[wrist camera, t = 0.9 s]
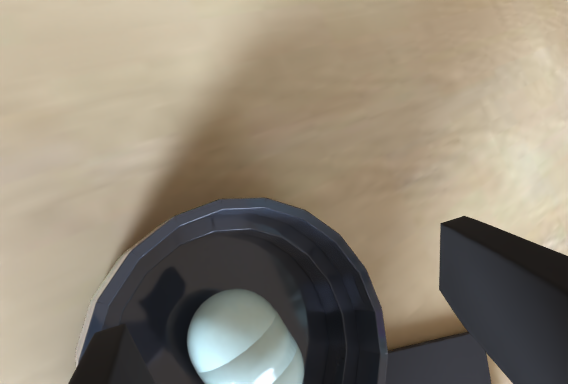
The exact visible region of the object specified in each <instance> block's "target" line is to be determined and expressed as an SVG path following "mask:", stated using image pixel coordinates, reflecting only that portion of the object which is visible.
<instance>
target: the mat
mask: <svg viewBox="0 0 568 384" xmlns="http://www.w3.org/2000/svg"><path fill="white" fill-rule="evenodd" d="M385 384H491V379H490V373H489V367H488V362H487V356H486V352H485V350H484V349H483V348H482V347H481V346H480V345H479V344H478V342H477V341H476V340H475V339H474V338H473V337H472V335H471V334H470V333H469V332H465V333H461V334H456V335H452V336H448V337H444V338H440V339H435V340H431V341H427V342H423V343H418V344H414V345H410V346H406V347H402V348H397V349H393V350H389V351H388V360H387V370H386V380H385Z"/></svg>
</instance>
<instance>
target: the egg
mask: <svg viewBox="0 0 568 384" xmlns="http://www.w3.org/2000/svg"><path fill="white" fill-rule="evenodd" d="M186 342H187V352H188V356H189V359H190V362H191V363H192V365H193V367H194V369H195V371H196V372H197V374H198V375H199V377H200V378H201V380H202V381H203V382H204V384H303V380H304V372H305V370H304V360H303V356H302V353H301V349H300V347H299V346H298V344H297V342H296V340H295V339H294V337H293V336H292V334H291V333H290V331H289V329H288V328H287V326H286V325H285V323H284V322H283V320H282V319H281V317H280V316H279V314H278V313H277V311H276V310H275V308H274V307H273V306H272V305H271V304H270V302H269V301H268V300H266V299H265V298H264V297H263V296H261V295H259V294H257V293H256V292H253V291H250V290H246V289H238V288H233V289H227V290H223V291H220V292H218V293H215V294H213V295H212V296H210V297H209V298H207V299H206V300H205V301H204V302H203V303H202V304H201V305H200V306H199V307H198V308H197V310H196V311H195V313H194V315H193V316H192V318H191V320H190V324H189V327H188V330H187V339H186Z"/></svg>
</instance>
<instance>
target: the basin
mask: <svg viewBox="0 0 568 384" xmlns="http://www.w3.org/2000/svg"><path fill="white" fill-rule="evenodd" d="M233 288H238V289H246V290H250V291H253V292H256V293H257V294H259V295H261V296H263V297H264V298H265V299H266V300H268V301H269V302H270V304H271V305H272V306H273V307H274V308H275V310H276V311H277V313H278V314H279V316H280V317H281V319H282V320H283V322H284V323H285V325H286V326H287V328H288V329H289V331H290V333H291V334H292V336H293V337H294V339H295V340H296V342H297V344H298V346H299V347H300V349H301V353H302V356H303V360H304V370H305V372H304V380H303V384H385V380H386V370H387V360H388V349H387V342H386V335H385V327H384V320H383V312H382V307H381V305H380V302H379V300H378V297H377V295H376V292H375V290H374V287H373V285H372V282H371V280H370V277H369V275H368V272H367V270H366V269H365V267H364V265H363V264H362V263H361V261H360V260H359V259H358V257H357V256H356V255H355V254H354V252H353V251H352V250H351V248H350V247H349V246H348V244H347V243H346V242H345V240H344V239H343V238H342V237H341V235H340V234H338V233H337V232H336V231H334V230H333V229H331V228H330V227H329V226H327V225H326V224H325V223H323V222H322V221H320V220H319V219H318V218H316V217H315V216H313V215H312V214H311V213H309V212H308V211H306V210H304V209H300V208H297V207H294V206H291V205H288V204H284V203H281V202H278V201H275V200H272V199H268V198H234V199H219V200H216V201H213V202H211V203H208V204H205V205H202V206H200V207H197V208H194V209H192V210H189V211H186V212H184V213H181V214H178V215H176V216H174V217H172V218H170V219H169V220H167V221H166V222H164V223H162V224H161V225H159V226H158V227H156V228H155V229H154V230H152V231H151V232H150V233H149V234H147V235H146V236H145V237H144V238H142V239H141V240H140V241H139V242H137V243H136V244H135V245H133V246H132V247H131V248H130V249H128V250H127V251H126V252H125V253H123V254H122V255H121V257H119V259H118V260H117V262H116V263H115V265H114V266H113V267H112V269H111V270H110V272H109V273H108V275H107V276H106V278H105V279H104V281H103V282H102V284H101V285H100V287H99V288H98V289H97V291H96V292H95V294H94V295H93V297H92V299H91V301H90V304H89V307H88V311H87V314H86V317H85V321H84V324H83V327H82V330H81V334H80V337H79V340H78V344H77V347H76V368H77V366H78V364H79V362H80V360H81V358H82V356H83V354H84V352H85V350H86V348H87V346H88V344H89V342H90V340H91V338H92V337H93V335H94V334H95V333H96V332H99V331H102V330H106V329H109V328H112V327H115V326H118V325H121V324H126V326H127V328H128V330H129V332H130V334H131V336H132V338H133V340H134V342H135V344H136V346H137V348H138V350H139V352H140V354H141V356H142V358H143V360H144V362H145V364H146V366H147V368H148V370H149V372H150V374H151V376H152V378H153V380H154V382H155V384H204V382H203V381H202V380H201V378H200V377H199V375H198V374H197V372H196V371H195V369H194V367H193V365H192V363H191V362H190V359H189V356H188V352H187V342H186V339H187V330H188V327H189V324H190V320H191V318H192V316H193V315H194V313H195V311H196V310H197V308H198V307H199V306H200V305H201V304H202V303H203V302H204V301H205V300H206V299H207V298H209V297H210V296H212V295H213V294H215V293H218V292H220V291H223V290H227V289H233Z"/></svg>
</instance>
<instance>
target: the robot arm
mask: <svg viewBox="0 0 568 384" xmlns="http://www.w3.org/2000/svg"><path fill="white" fill-rule="evenodd" d="M439 290H440V291H441V293H442V294H443V296H444V297H445V299H446V301H447V302H448V304H449V305H450V307H451V308H452V310H453V311H454V313H455V314H456V316H457V317H458V318H459V320H460V321H461V323H462V324H463V326H464V327H465V328H466V329H467V331H468V332H469V333H470V334H471V335H472V337H473V338H474V339H475V340H476V341H477V342H478V344H479V345H480V346H481V347H482V348H483V349H484V350H485V352H486V353H487V354H488V355H489V356H490V357H491V359H492V360H493V361H494V362H495V363H496V364H497V365H498V367H499V368H500V369H501V370H502V371H503V372H504V374H505V375H506V376H507V377H508V378H509V379H510V380H511V382H512V383H513V384H568V256H566V255H564V254H561V253H559V252H556V251H553V250H551V249H548V248H546V247H543V246H541V245H538V244H536V243H533V242H531V241H528V240H526V239H523V238H521V237H518V236H516V235H513V234H511V233H508V232H506V231H503V230H501V229H498V228H496V227H493V226H491V225H488V224H486V223H483V222H480V221H478V220H475V219H472V218H469V217H466V216H463V217H459V218H456V219H453V220H450V221H447V222H444V223H441V233H440V277H439ZM68 384H155V382H154V380H153V378H152V376H151V374H150V372H149V370H148V368H147V366H146V364H145V362H144V360H143V358H142V356H141V354H140V352H139V350H138V348H137V346H136V344H135V342H134V340H133V338H132V336H131V334H130V332H129V330H128V328H127V326H126V324H121V325H118V326H115V327H112V328H109V329H106V330H102V331H99V332H96V333H95V334H94V335H93V337H92V338H91V340H90V342H89V344H88V346H87V348H86V350H85V352H84V354H83V356H82V358H81V360H80V362H79V364H78V366H77V368H76V370H75V372H74V374H73V376H72V378H71V380H70V382H69V383H68Z"/></svg>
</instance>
